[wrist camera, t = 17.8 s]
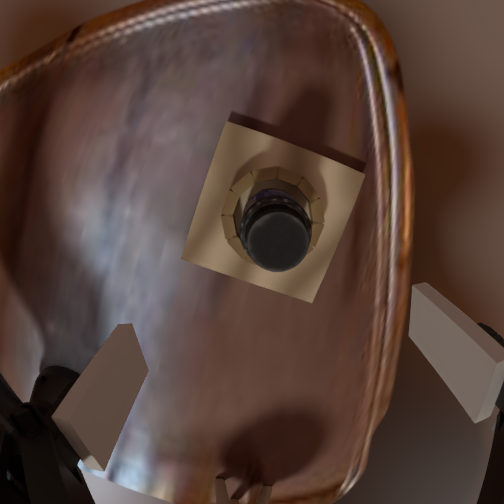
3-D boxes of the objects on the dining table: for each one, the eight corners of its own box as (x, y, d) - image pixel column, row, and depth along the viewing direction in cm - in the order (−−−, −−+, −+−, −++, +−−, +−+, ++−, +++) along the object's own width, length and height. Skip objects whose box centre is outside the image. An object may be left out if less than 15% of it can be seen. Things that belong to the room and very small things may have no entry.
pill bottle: (245, 185, 33) (239, 197, 22) (302, 190, 33) (323, 204, 22) (241, 242, 35) (234, 278, 24) (297, 246, 35) (314, 283, 24)
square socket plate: (183, 255, 36) (177, 263, 33) (227, 122, 32) (224, 118, 29) (310, 298, 38) (314, 309, 35) (362, 174, 33) (371, 175, 30)
